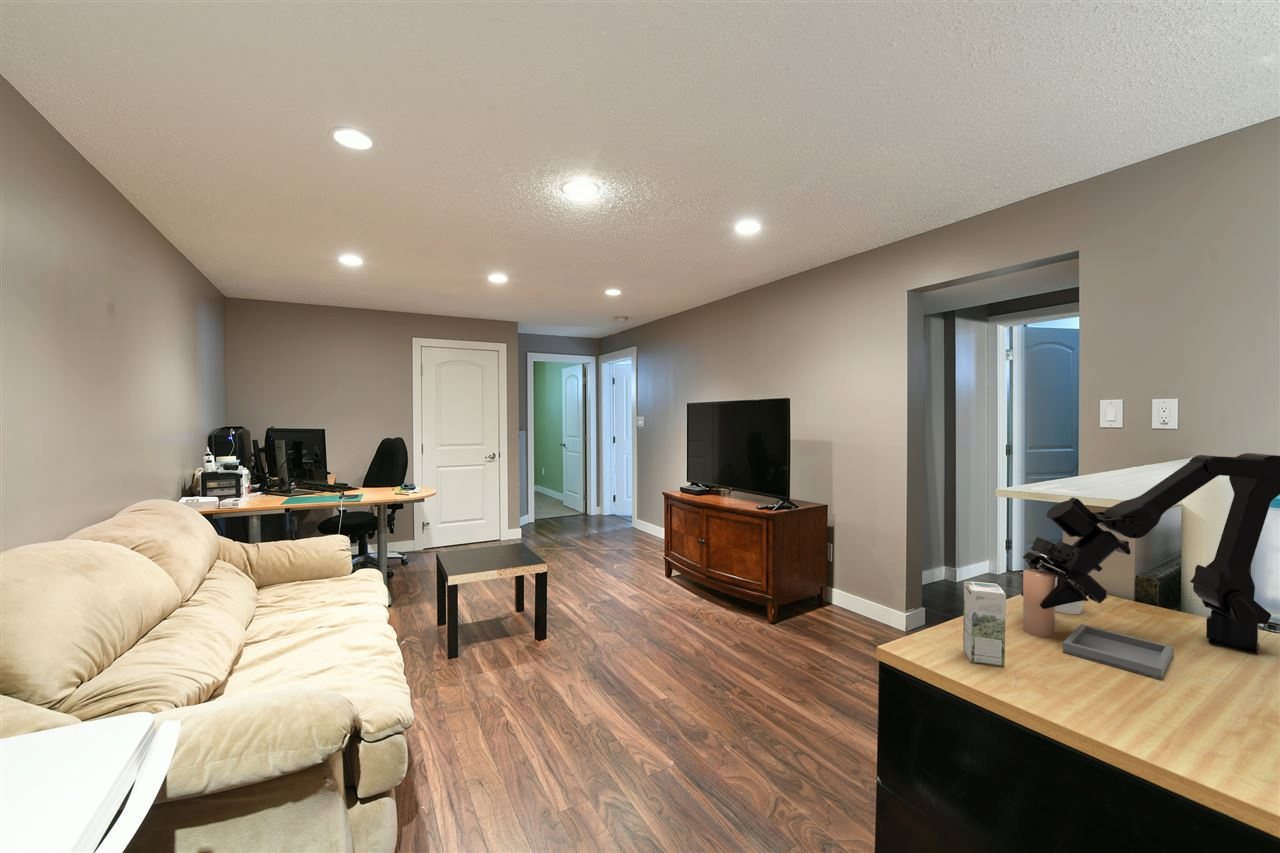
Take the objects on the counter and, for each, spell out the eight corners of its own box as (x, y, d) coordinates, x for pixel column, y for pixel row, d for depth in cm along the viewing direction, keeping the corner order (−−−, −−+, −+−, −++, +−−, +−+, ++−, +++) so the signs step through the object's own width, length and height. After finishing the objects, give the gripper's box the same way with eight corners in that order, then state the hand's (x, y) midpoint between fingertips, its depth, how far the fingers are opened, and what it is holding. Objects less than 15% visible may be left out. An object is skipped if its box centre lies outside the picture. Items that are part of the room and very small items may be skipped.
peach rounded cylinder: (1057, 632, 113) (1058, 573, 113) (1050, 639, 110) (1051, 578, 109) (1027, 624, 117) (1027, 567, 117) (1019, 631, 114) (1019, 572, 114)
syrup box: (995, 654, 103) (996, 582, 103) (1005, 668, 98) (1006, 592, 97) (962, 650, 105) (963, 579, 105) (970, 663, 100) (971, 589, 99)
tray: (1173, 656, 101) (1173, 646, 101) (1161, 680, 93) (1161, 669, 93) (1081, 633, 112) (1081, 624, 112) (1062, 652, 104) (1063, 642, 104)
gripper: (1032, 517, 122) (981, 562, 123) (1091, 536, 103) (1031, 589, 105) (1068, 551, 121) (1016, 596, 122) (1134, 576, 102) (1073, 629, 104)
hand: (1032, 601), depth 113 cm, fingers open, 6 cm apart
